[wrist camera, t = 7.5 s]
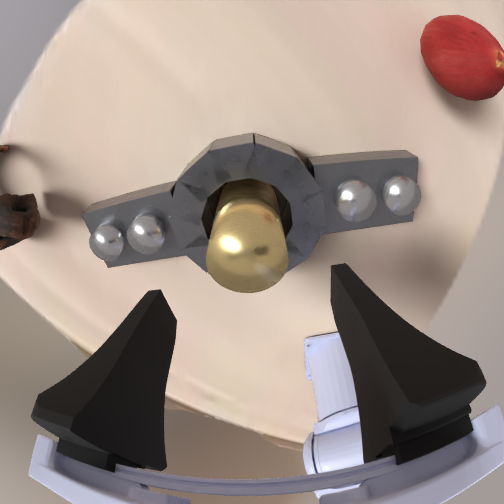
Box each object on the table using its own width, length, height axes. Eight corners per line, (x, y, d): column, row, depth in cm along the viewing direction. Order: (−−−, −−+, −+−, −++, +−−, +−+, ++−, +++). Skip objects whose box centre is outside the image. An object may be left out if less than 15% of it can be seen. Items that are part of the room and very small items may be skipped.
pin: (277, 224, 20) (289, 289, 14) (223, 229, 20) (214, 295, 15) (274, 172, 18) (287, 222, 12) (215, 178, 18) (198, 230, 12)
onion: (443, 18, 10) (519, 15, 3) (466, 85, 13) (542, 108, 6) (386, 24, 11) (462, 8, 5) (415, 99, 14) (495, 123, 8)
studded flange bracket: (399, 233, 20) (415, 254, 18) (125, 274, 23) (114, 297, 20) (405, 121, 15) (428, 130, 13) (82, 179, 17) (62, 195, 15)
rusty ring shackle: (4, 235, 21) (-52, 240, 12) (17, 151, 19) (-39, 140, 11) (62, 267, 19) (-14, 284, 11) (81, 156, 18) (3, 136, 10)
